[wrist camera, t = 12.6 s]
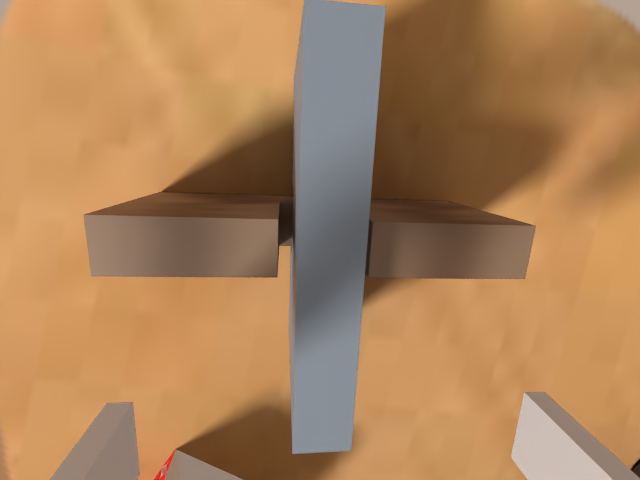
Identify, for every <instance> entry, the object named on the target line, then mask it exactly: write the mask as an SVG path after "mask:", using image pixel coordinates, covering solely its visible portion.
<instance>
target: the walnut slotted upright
mask: <svg viewBox="0 0 640 480" xmlns="http://www.w3.org/2000/svg"><path fill="white" fill-rule="evenodd" d="M84 221H85V229H86V237H87V245H88V253H89V261H90V269H91V276H121V277H277V274H278V256H279V246H292V229H293V196H274V195H243V194H212V193H181V192H158V193H155V194H152V195H148V196H145V197H142V198H138V199H135V200H131V201H128V202H125V203H121V204H118V205H115V206H111V207H108V208H105V209H101V210H98V211H95V212H91V213H88V214H84ZM535 228H536V226H535V225H531V224H527V223H524V222H520V221H517V220H513V219H510V218H506V217H503V216H499V215H496V214H492V213H488V212H485V211H481V210H478V209H474V208H471V207H467V206H464V205H460V204H457V203H453V202H449V201H429V200H398V199H371V202H370V215H369V228H368V241H367V254H366V267H365V274H366V275H367V277H368V278H452V279H525V277H526V272H527V267H528V262H529V257H530V252H531V247H532V242H533V237H534V232H535Z"/></svg>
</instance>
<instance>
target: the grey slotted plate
mask: <svg viewBox="0 0 640 480" xmlns="http://www.w3.org/2000/svg"><path fill="white" fill-rule="evenodd" d="M385 8H386V6H379V5H368V4H358V3H347V2H336V1H326V0H304V6H303V14H302V22H301V29H300V37H299V45H298V53H297V61H296V68H295V76H294V121H293V168H292V185H293V229H292V246H291V261H290V308H289V347H290V385H291V422H292V454H300V453H319V452H338V451H351V447H352V434H353V422H354V409H355V396H356V383H357V370H358V357H359V344H360V331H361V318H362V305H363V292H364V279H365V267H366V254H367V241H368V228H369V215H370V202H371V189H372V176H373V163H374V150H375V137H376V124H377V112H378V99H379V86H380V73H381V60H382V47H383V34H384V21H385Z"/></svg>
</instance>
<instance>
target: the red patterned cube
mask: <svg viewBox="0 0 640 480" xmlns="http://www.w3.org/2000/svg"><path fill="white" fill-rule="evenodd" d="M154 480H243V479H241V478H239V477H237V476H234V475H232V474H230V473H228V472H225V471H223V470H221V469H219V468H216V467H214V466H212V465H210V464H207V463H205V462H203V461H201V460H199V459H196V458H194V457H192V456H190V455H187V454H185V453H183V452H181V451H178V450H174V453H172V455H171V456H170V457H169V459H168V460H167V462H166V463H165V464H164V466H163V468H162V469H161V470H160V472H159V473H158V475H157V476H156V477H155V479H154Z"/></svg>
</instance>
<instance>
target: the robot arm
mask: <svg viewBox="0 0 640 480" xmlns="http://www.w3.org/2000/svg"><path fill="white" fill-rule="evenodd" d="M511 458H512V459H513V461H514V462H515V463H516V465H517V466H518V467H519V469H520V470H521V471H522V473H523V474H524V475H525V477H526V478H527V479H528V480H640V463H639V464H638V465H637V466H636V467H635V468H634V469H633V471H631V470H630V469H629V468H628V467H627V466H626V465H625V464H624V463H623V462H621V461H620V460H619V459H618V458H617V457H616V456H615V455H614V454H613V453H611V452H610V451H609V450H608V449H607V448H606V447H605V446H604V445H603V444H602V443H600V442H599V441H598V440H597V439H596V438H595V437H594V436H593V435H592V434H590V433H589V432H588V431H587V430H586V429H585V428H584V427H583V426H582V425H581V424H579V423H578V422H577V421H576V420H575V419H574V418H573V417H572V416H571V415H570V414H568V413H567V412H566V411H565V410H564V409H563V408H562V407H561V406H560V405H558V404H557V403H556V402H555V401H554V400H553V399H552V398H551V397H550V396H549V395H547V394H546V393H545V392H524V397H523V402H522V407H521V411H520V416H519V421H518V426H517V431H516V436H515V440H514V445H513V450H512V455H511ZM139 475H140V471H139V460H138V450H137V439H136V429H135V419H134V408H133V402H121V403H107V404H106V405H105V406H104V408H103V409H102V410H101V412H100V413H99V414H98V416H97V417H96V418H95V420H94V421H93V422H92V424H91V425H90V426H89V428H88V429H87V431H86V432H85V433H84V435H83V436H82V437H81V439H80V440H79V441H78V443H77V444H76V445H75V447H74V448H73V449H72V451H71V452H70V453H69V455H68V456H67V457H66V459H65V460H64V461H63V463H62V464H61V465H60V467H59V468H58V469H57V471H56V472H55V473H54V475H53V476H52V477H51V479H50V480H137V479H138V477H139Z"/></svg>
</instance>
